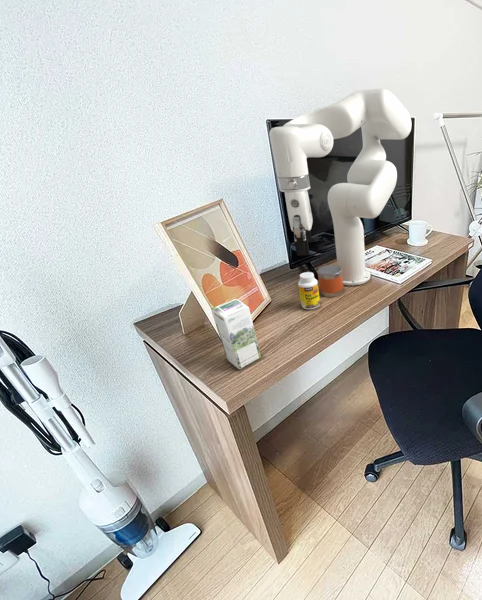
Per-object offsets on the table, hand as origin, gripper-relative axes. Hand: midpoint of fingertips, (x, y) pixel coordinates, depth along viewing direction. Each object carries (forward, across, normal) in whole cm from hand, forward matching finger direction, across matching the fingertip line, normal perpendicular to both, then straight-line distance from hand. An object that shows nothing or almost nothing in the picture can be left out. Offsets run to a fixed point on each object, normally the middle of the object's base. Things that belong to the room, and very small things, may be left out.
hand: (304, 248), depth 89 cm
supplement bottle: (+18, -1, +1) cm, 18 cm away
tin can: (+18, +7, -5) cm, 20 cm away
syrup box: (+18, -24, +15) cm, 33 cm away
